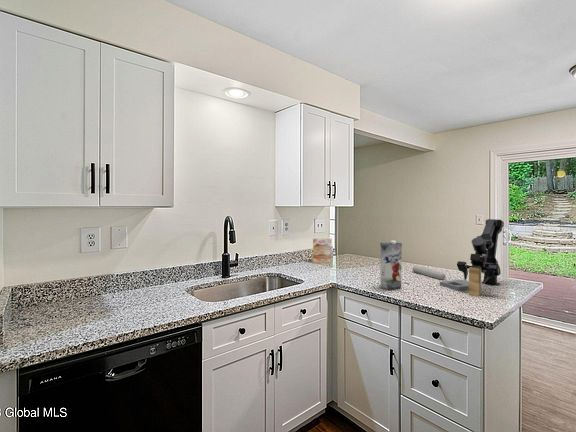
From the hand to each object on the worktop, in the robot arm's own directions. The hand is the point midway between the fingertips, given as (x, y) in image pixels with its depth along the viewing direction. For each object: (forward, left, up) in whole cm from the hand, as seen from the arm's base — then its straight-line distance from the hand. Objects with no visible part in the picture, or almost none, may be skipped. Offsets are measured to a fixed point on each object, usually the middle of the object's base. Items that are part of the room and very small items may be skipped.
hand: (474, 281), depth 158 cm
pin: (-1, -1, -7) cm, 7 cm away
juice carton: (+32, -26, -7) cm, 42 cm away
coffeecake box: (+36, -112, -7) cm, 117 cm away
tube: (-10, -43, -8) cm, 45 cm away
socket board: (-7, -15, -7) cm, 18 cm away
